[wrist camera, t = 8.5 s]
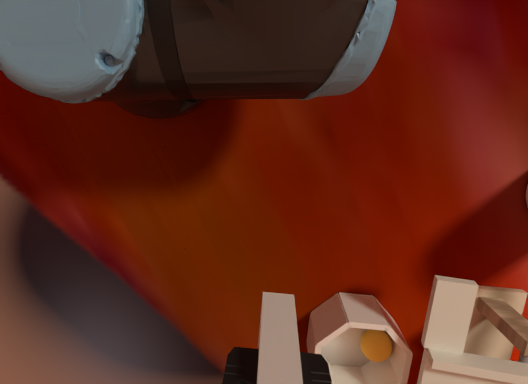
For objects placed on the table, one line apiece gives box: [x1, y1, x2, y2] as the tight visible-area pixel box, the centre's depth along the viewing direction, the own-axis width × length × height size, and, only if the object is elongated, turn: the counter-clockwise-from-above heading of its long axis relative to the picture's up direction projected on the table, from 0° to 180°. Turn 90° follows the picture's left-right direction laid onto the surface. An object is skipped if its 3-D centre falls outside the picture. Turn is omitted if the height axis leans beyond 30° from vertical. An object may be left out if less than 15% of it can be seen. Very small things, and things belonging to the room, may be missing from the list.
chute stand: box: [463, 286, 528, 360], centre depth 46 cm, size 9×17×10 cm, turn 175°
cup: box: [306, 292, 413, 384], centre depth 47 cm, size 11×11×7 cm
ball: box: [360, 329, 392, 362], centre depth 48 cm, size 4×4×4 cm
